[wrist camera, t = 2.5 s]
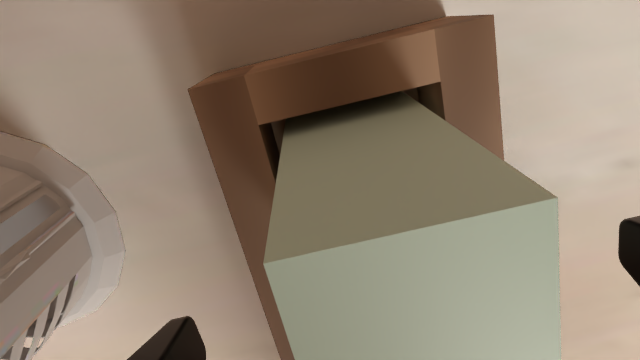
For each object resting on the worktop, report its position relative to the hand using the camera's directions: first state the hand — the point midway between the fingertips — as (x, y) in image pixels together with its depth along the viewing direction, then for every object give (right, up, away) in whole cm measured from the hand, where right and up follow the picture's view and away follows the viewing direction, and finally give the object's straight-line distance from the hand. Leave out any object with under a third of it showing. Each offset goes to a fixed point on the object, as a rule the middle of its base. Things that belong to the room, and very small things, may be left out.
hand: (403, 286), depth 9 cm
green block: (0, +3, +8) cm, 8 cm away
